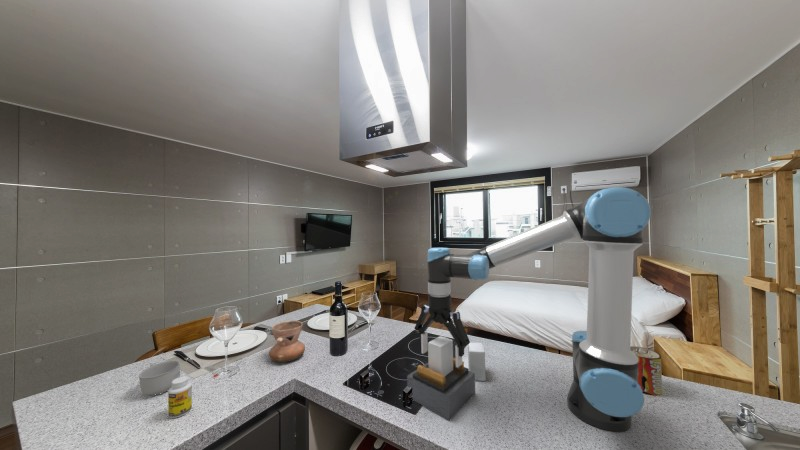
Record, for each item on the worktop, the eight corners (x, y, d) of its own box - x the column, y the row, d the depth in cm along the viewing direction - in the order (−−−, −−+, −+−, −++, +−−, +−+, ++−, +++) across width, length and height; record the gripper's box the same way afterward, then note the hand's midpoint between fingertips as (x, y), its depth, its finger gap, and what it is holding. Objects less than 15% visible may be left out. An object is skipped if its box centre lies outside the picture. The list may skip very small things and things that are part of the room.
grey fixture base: (475, 394, 87) (474, 362, 87) (449, 420, 75) (448, 384, 75) (435, 376, 98) (435, 348, 98) (407, 397, 86) (406, 365, 86)
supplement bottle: (163, 420, 77) (163, 386, 78) (175, 408, 83) (175, 375, 83) (185, 417, 79) (185, 383, 79) (195, 405, 84) (195, 373, 84)
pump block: (453, 369, 87) (452, 339, 88) (441, 379, 82) (440, 347, 82) (440, 364, 91) (440, 335, 91) (428, 373, 86) (428, 342, 86)
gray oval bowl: (182, 389, 93) (182, 366, 93) (139, 404, 85) (139, 380, 85) (176, 374, 102) (176, 354, 102) (137, 387, 94) (137, 365, 94)
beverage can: (625, 388, 89) (624, 352, 89) (626, 376, 95) (625, 343, 95) (662, 399, 83) (661, 361, 83) (661, 386, 89) (660, 351, 89)
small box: (485, 381, 94) (485, 352, 94) (469, 380, 95) (469, 351, 95) (483, 369, 102) (482, 342, 102) (468, 368, 103) (467, 341, 103)
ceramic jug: (295, 367, 106) (296, 332, 107) (260, 367, 106) (260, 332, 107) (311, 348, 124) (311, 317, 125) (281, 348, 124) (281, 317, 125)
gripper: (479, 298, 81) (481, 366, 81) (417, 287, 98) (418, 343, 98) (467, 303, 76) (469, 377, 75) (404, 290, 93) (405, 350, 92)
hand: (440, 358), depth 87 cm, fingers open, 13 cm apart
